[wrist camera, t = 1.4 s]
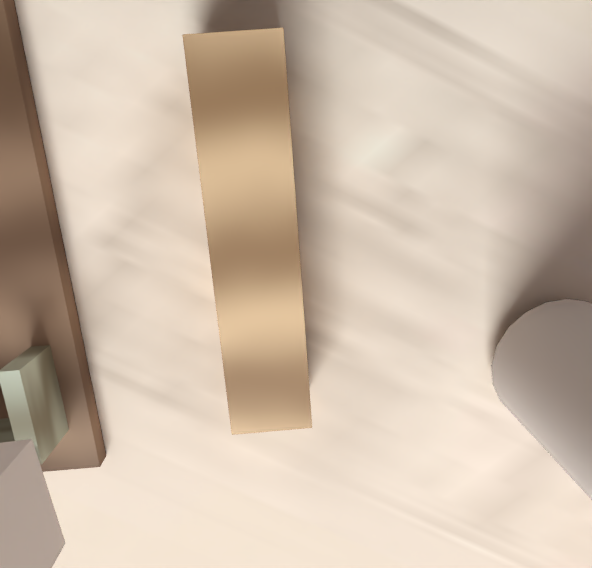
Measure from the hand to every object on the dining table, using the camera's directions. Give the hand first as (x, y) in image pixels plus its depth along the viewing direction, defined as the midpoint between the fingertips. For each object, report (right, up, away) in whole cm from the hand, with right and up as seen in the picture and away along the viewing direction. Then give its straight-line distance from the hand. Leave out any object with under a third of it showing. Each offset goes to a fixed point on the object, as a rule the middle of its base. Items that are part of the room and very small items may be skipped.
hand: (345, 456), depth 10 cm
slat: (-3, +6, +15) cm, 16 cm away
